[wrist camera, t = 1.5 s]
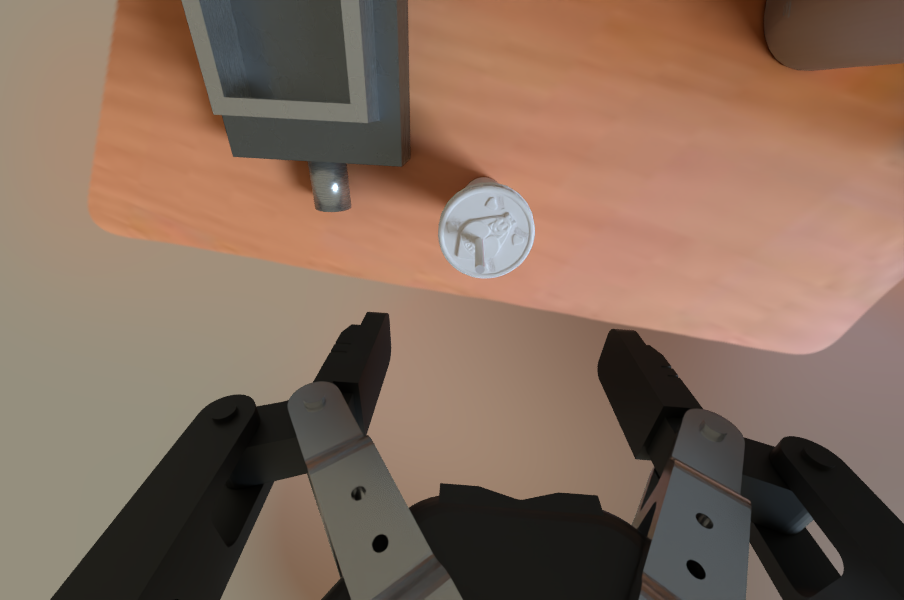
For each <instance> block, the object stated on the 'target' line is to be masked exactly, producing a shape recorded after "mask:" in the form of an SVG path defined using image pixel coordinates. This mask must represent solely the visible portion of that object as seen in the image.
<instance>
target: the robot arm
mask: <svg viewBox="0 0 904 600" xmlns="http://www.w3.org/2000/svg"><path fill="white" fill-rule="evenodd" d="M764 33H765V38H766V41H767V44H768V48H769V50H770V51H771V53H772V54H773V55H774V57H775V58H776V59H777V60H778V61H779V62H781V63H782V64H783V65H785V66H786V67H790V68H793V69H796V70H806V71H814V70H826V69H837V68H849V67H861V66H876V65H887V64H899V63H904V0H767V1H766V7H765V14H764ZM390 356H391V337H390V321H389V314H388V313H377V312H367V313H366V315H365V317H364V319H363V321H362V323H361V325H351V326H349V327H348V328H347V329H345V330H344V331H343V332H341V334H340V336H339V337H338V339H337V341H336V344H335V345H334V346H333V348H332V350H331V353H329V355H328V357H327V359H326V360H325V362H324V364H323V366H322V367H321V369H320V371H319V373H318V374H317V376H316V378H315V380H314V381H313V383H310V384H307V385H305V386H303V387H301V388H300V389H298V390H297V391H296V392H295V393H293V395H292V396H291V397H290V399H289V400H288V401H284V402H279V403H274V404H268V405H263V406H257V407H256V404H255V402H254V400H253V399H252V398H251V397H249V396H246V395H230V396H226V397H223V398H221V399H218V400H216V401H214V402H212V403H210V404H209V405H207V406H206V407H205V408H204V409H203V410H201V412H200V413H199V414H198V415H197V416H196V418H195V419H194V420H193V422H191V424H190V425H189V426H188V427H187V429H186V430H185V431H184V433H183V434H182V435H181V436H180V438H179V439H178V440H177V441H176V443H175V444H174V445H173V446H172V448H171V449H170V450H169V451H168V453H167V454H166V455H165V456H164V458H163V459H162V460H161V461H160V463H159V464H158V465H157V466H156V468H155V469H154V470H153V471H152V473H151V474H150V475H149V476H148V478H147V479H146V480H145V482H144V483H143V484H142V485H141V486H140V488H139V489H138V490H137V492H136V493H135V494H134V495H133V496H132V498H131V499H130V500H129V502H128V503H127V504H126V505H125V507H124V508H123V509H122V510H121V512H120V513H119V514H118V515H117V517H116V518H115V519H114V520H113V522H112V523H111V524H110V525H109V527H108V528H107V529H106V530H105V532H104V533H103V534H102V535H101V537H100V538H99V539H98V540H97V542H96V543H95V544H94V546H93V547H92V548H91V549H90V550H89V552H88V553H87V554H86V555H85V557H84V558H83V559H82V560H81V562H80V563H79V564H78V565H77V567H76V568H75V569H74V570H73V572H72V573H71V574H70V576H69V577H68V578H67V579H66V581H65V582H64V583H63V584H62V586H61V587H60V588H59V590H58V591H57V592H56V593H55V594H54V596H53V597H52V598H51V600H220V599H221V596H222V594H223V592H224V590H225V588H226V586H227V583H228V581H229V579H230V577H231V575H232V572H233V570H234V568H235V566H236V564H237V562H238V559H239V557H240V555H241V553H242V551H243V548H244V546H245V544H246V542H247V540H248V537H249V535H250V533H251V531H252V529H253V526H254V524H255V522H256V520H257V518H258V516H259V513H260V511H261V509H262V507H263V504H264V503H265V500H266V498H267V496H268V494H269V492H270V489H271V487H272V485H273V483H274V481H277V480H281V479H285V478H289V477H294V476H298V475H302V474H306V473H307V475H308V478H309V481H310V484H311V488H312V491H313V494H314V497H315V500H316V503H317V506H318V509H319V512H320V515H321V518H322V521H323V524H324V528H325V531H326V534H327V537H328V541H329V544H330V547H331V550H332V553H333V557H334V560H335V562H336V566H337V569H338V572H339V575H340V580H339V581H338V582H337V583H336V584H335V585H334V586H333V587H332V588H331V589H330V591H329V592H328V593H327V594H326V595H325V596H324V597H323V598H322V599H321V600H746V588H747V571H748V554H749V542H750V544H751V545H752V547H753V549H754V550H755V552H756V554H757V556H758V557H759V559H760V561H761V563H762V564H763V566H764V568H765V570H766V571H767V573H768V575H769V577H770V578H771V580H772V581H773V584H774V585H775V587H776V589H777V590H778V592H779V594H780V596H781V597H782V599H783V600H904V524H903V523H902V521H901V520H899V518H898V517H897V516H896V515H895V514H894V513H893V512H892V511H891V510H890V509H889V508H888V507H887V506H886V505H885V504H884V503H883V502H882V501H881V500H880V499H879V498H878V497H877V496H876V495H875V494H874V492H873V491H872V490H871V489H870V488H869V487H868V486H867V485H866V484H865V483H864V482H863V481H862V480H861V479H860V478H859V477H858V476H857V475H856V474H855V473H854V472H853V471H852V470H851V469H850V468H849V467H848V466H847V465H846V464H845V463H844V462H843V461H842V460H841V459H840V458H839V457H837V456H836V455H835V454H834V453H832V452H831V451H829V450H828V449H826V448H824V447H823V446H821V445H819V444H817V443H814V442H812V441H810V440H807V439H804V438H800V437H794V436H789V437H784V438H783V439H782V440H781V441H780V442H779V443H778V444H777V446H776V447H774V446H770V445H767V444H764V443H760V442H757V441H754V440H750V439H747V438H744V437H743V435H742V433H741V432H740V431H739V430H738V429H737V427H736V426H735V425H733V424H732V423H731V422H730V421H728V420H727V419H725V418H724V417H722V416H720V415H718V414H716V413H714V412H711V411H708V410H704V409H703V408H702V407H701V406H700V404H699V403H698V401H697V400H696V399H695V398H694V396H693V395H692V394H691V392H690V391H689V390H688V388H687V387H686V385H685V384H684V383H683V381H682V380H681V379H680V378H678V375H677V373H676V372H675V371H674V369H671V365H670V364H669V363H668V362H667V360H666V359H665V357H664V356H663V355H662V354H661V353H659V352H658V351H657V350H655V349H654V348H652V347H651V346H650V345H646V344H645V343H644V341H643V340H642V339H641V337H640V336H639V334H638V333H637V332H636V331H634V330H621V329H611V330H610V331H609V333H608V336H607V339H606V342H605V344H604V347H603V350H602V353H601V356H600V359H599V362H598V377H599V380H600V382H601V384H602V386H603V389H604V391H605V393H606V395H607V397H608V399H609V402H610V404H611V406H612V408H613V411H614V413H615V415H616V417H617V419H618V422H619V424H620V426H621V428H622V430H623V432H624V435H625V437H626V439H627V441H628V443H629V446H630V448H631V450H632V452H633V455H634V457H635V459H640V460H651V461H652V463H653V465H654V468H653V469H652V471H651V473H650V476H649V478H648V481H647V484H646V487H645V490H644V493H643V495H642V498H641V501H640V504H639V507H638V510H637V513H636V515H635V518H634V520H633V523H632V525H630V524H629V523H627V522H626V521H624V520H622V519H621V518H619V517H617V516H615V515H613V514H611V513H609V512H606V511H604V510H602V508H601V505H600V501H599V498H598V496H596V495H583V494H570V493H554V494H549V495H545V496H539V497H534V498H529V499H525V500H518V499H514V498H511V497H509V496H506V495H503V494H500V493H497V492H494V491H491V490H488V489H485V488H482V487H479V486H468V485H456V484H455V485H454V484H443V483H441V484H440V493H439V496H435V497H431V498H428V499H425V500H422V501H420V502H418V503H416V504H414V505H412V506H411V507H409V508H408V506H407V504H406V503H405V501H404V499H403V497H402V495H401V493H400V491H399V490H398V488H397V486H396V484H395V482H394V480H393V478H392V477H391V475H390V473H389V471H388V469H387V467H386V465H385V463H384V462H383V460H382V458H381V456H380V454H379V452H378V450H377V448H376V447H375V445H374V443H373V441H372V440H371V438H370V437H369V436H368V435H366V434H367V431H368V428H369V425H370V422H371V419H372V416H373V413H374V409H375V406H376V403H377V400H378V397H379V394H380V391H381V387H382V384H383V381H384V378H385V375H386V372H387V369H388V365H389V362H390ZM813 520H814V521H815V522H816V523H817V525H818V526H819V527H820V528H821V530H822V531H823V532H824V533H825V535H826V536H827V538H828V539H829V540H830V542H831V543H832V544H833V546H834V547H835V548H836V549H837V551H838V552H839V554H840V556H841V558H842V561H843V565H844V572H843V575H842V576H840V574H839V573H838V572H837V570H836V569H835V568H834V566H833V565H832V563H831V562H830V561H829V559H828V558H827V557H826V555H825V554H824V552H823V551H822V549H821V548H820V547H819V545H818V544H817V543H816V541H815V540H814V539H813V537H812V536H811V534H810V533H809V532H808V530H807V529H806V526H807V525H808V524H809V523H810V522H812V521H813Z"/></svg>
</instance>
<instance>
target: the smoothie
mask: <svg viewBox="0 0 904 600" xmlns="http://www.w3.org/2000/svg"><path fill="white" fill-rule="evenodd" d="M534 235H535V226H534V220H533V215H532V212H531V210H530V208H529V206H528V204H527V202H526V201H525V200H524V199H523V198H522V196H521V195H520V194H519V193H518V192H516V191H514V190H513V189H511V188H510V187H508V186H505V185H502V184H499V183H497V182H496V181H495V180H493V179H491V178H487V177H480V178H476V179H474V180H472V181H471V182H470V183H469V184H468V185H467V186H466V187H465V188H464V189H462V190H461V191H459V192H457V193H456V194H455V195H454V196H453V197H452V198H451V199H450V200H449V201H448V202H447V204H446V206H445V208H444V210H443V211H442V213H441V217H440V222H439V230H438V238H439V244H440V247H441V250H442V252H443V254H444V256H445V258H446V259H447V260H448V262H449V263H450V264H451V265H452V266H453V267H454V268H456V269H457V270H458V271H460V272H462V273H464V274H466V275H469V276H472V277H476V278H494V277H499V276H502V275H505V274H507V273H509V272H510V271H512V270H514V269H515V268H516V267H518V266H519V265H520V264H521V263H522V262H523V261H524V260H525V258H526V257H527V255H528V254H529V252H530V250H531V248H532V245H533V241H534Z"/></svg>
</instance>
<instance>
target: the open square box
mask: <svg viewBox="0 0 904 600" xmlns="http://www.w3.org/2000/svg"><path fill="white" fill-rule="evenodd" d="M182 4H183V7H184V11H185V15H186V18H187V22H188V25H189V29H190V32H191V36H192V39H193V43H194V47H195V50H196V54H197V57H198V61H199V64H200V68H201V72H202V75H203V79H204V82H205V86H206V89H207V93H208V96H209V100H210V104H211V107H212V111H213V114H214V115H222V117H223V121H224V125H225V128H226V132H227V136H228V140H229V143H230V147H231V151H232V154H233V157H246V158H264V159H281V160H298V161H308V167H309V173H310V179H311V185H312V191H313V197H314V204H315V209H316V210H319V211H323V212H339V211H345V210H348V209H350V208H351V199H350V189H349V180H348V171H347V163H349V164H367V165H384V166H401V167H402V166H403V165H404V164H405V163H406V162H407V161H408V160H409V159H410V101H409V44H408V0H182Z"/></svg>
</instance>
